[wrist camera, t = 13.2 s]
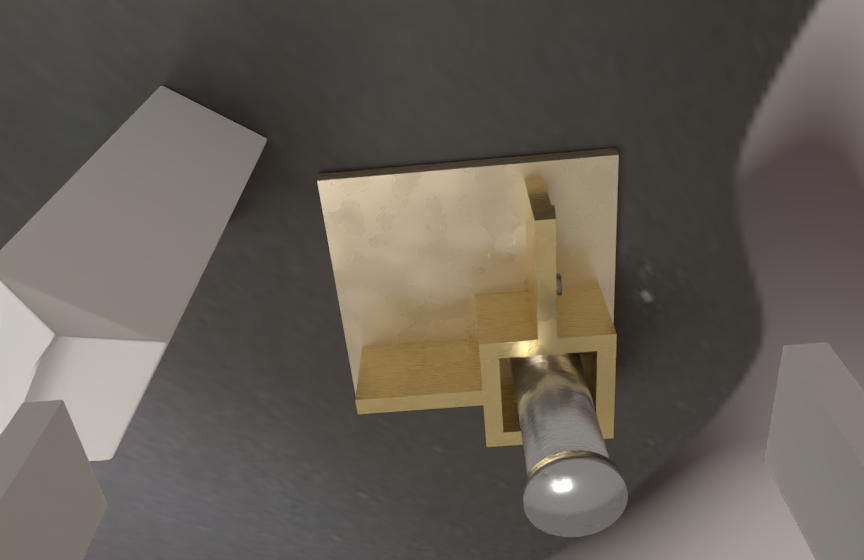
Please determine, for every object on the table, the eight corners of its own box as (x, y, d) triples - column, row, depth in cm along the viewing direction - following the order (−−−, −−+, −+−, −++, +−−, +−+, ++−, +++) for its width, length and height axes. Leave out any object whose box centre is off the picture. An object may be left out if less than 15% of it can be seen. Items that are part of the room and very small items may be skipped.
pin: (502, 376, 49) (525, 540, 38) (499, 311, 46) (521, 466, 35) (580, 370, 49) (625, 533, 38) (581, 304, 46) (629, 458, 35)
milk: (268, 137, 42) (143, 405, 23) (225, 226, 45) (82, 532, 26) (158, 82, 40) (-72, 321, 22) (121, 177, 43) (-114, 465, 24)
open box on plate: (608, 383, 50) (628, 448, 45) (359, 401, 51) (352, 468, 46) (614, 147, 42) (640, 194, 37) (319, 173, 43) (304, 223, 38)
